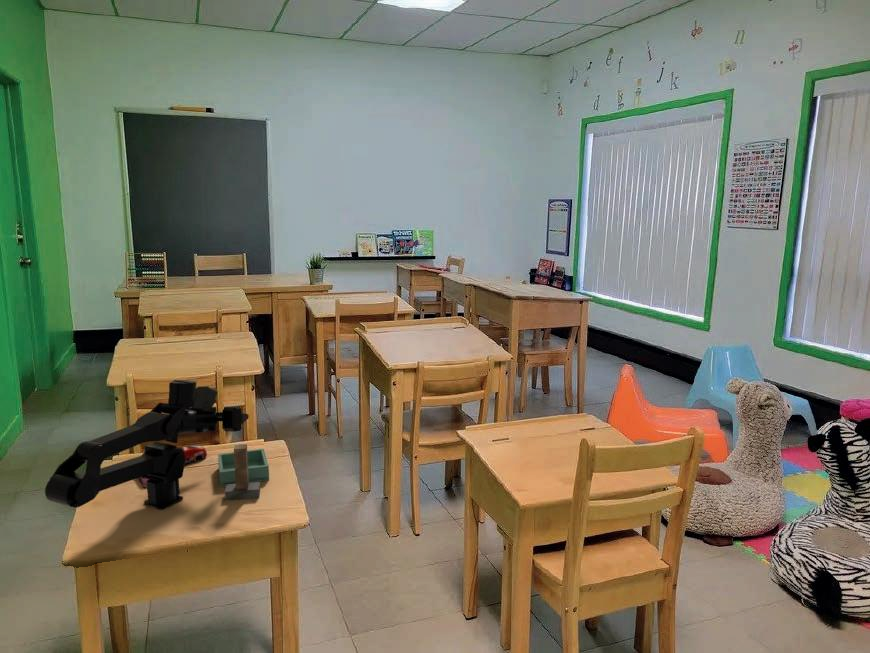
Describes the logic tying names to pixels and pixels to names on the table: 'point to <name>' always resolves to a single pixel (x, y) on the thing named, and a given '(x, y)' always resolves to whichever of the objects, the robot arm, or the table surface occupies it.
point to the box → (256, 467)
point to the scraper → (241, 478)
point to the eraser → (143, 482)
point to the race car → (194, 453)
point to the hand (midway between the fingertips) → (235, 416)
